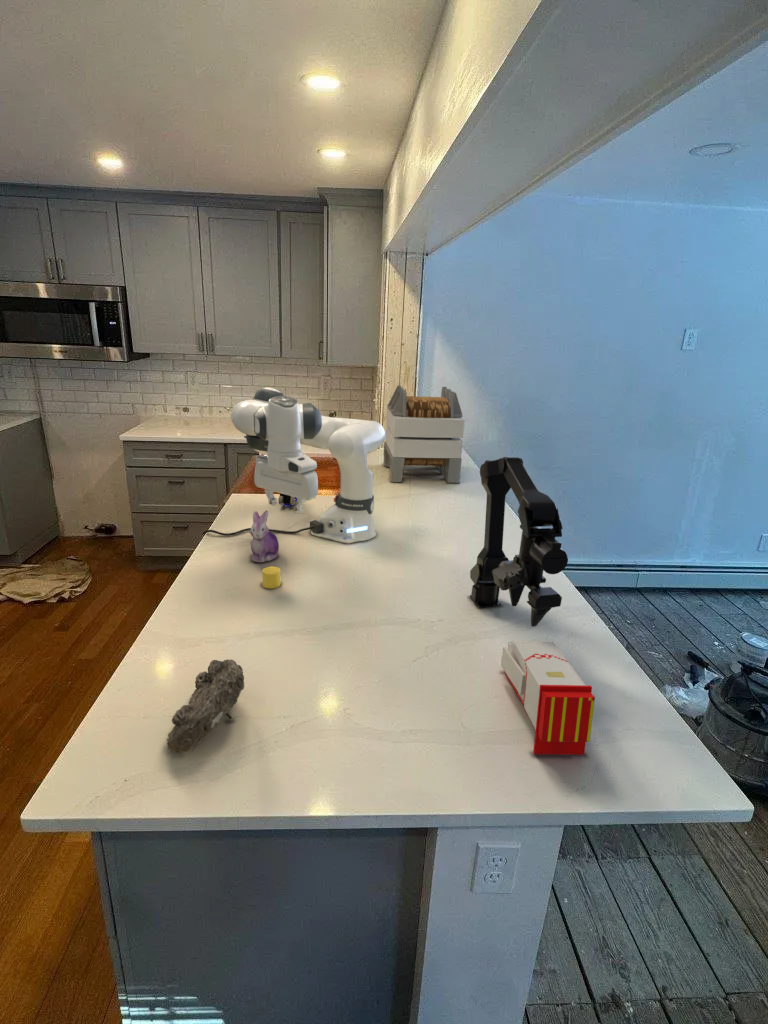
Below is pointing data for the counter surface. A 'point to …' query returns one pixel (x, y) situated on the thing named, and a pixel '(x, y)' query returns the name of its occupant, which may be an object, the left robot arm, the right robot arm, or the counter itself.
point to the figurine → (262, 539)
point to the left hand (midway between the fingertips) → (285, 508)
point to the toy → (550, 696)
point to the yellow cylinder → (271, 577)
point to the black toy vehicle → (287, 500)
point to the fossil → (206, 705)
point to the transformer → (424, 434)
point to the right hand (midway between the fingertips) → (523, 615)
